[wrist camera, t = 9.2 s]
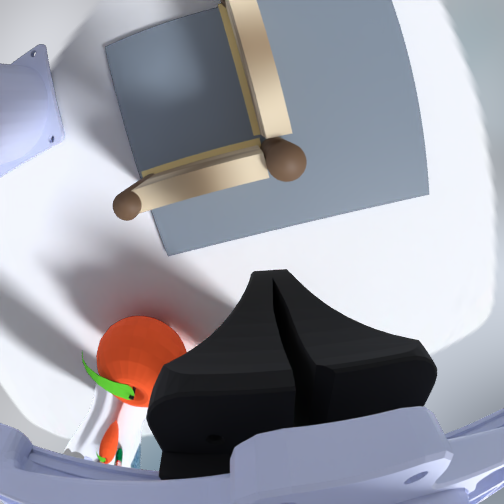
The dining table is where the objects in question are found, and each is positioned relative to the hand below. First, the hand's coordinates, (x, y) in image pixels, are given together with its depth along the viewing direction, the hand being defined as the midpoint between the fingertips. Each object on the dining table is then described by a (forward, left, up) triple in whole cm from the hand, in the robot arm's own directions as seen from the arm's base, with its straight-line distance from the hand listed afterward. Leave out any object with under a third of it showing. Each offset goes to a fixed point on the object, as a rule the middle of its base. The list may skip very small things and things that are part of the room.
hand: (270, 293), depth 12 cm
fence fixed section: (-2, +4, -9) cm, 10 cm away
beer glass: (-17, -14, -10) cm, 24 cm away
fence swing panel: (+2, +10, -9) cm, 13 cm away
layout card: (+3, +7, -9) cm, 12 cm away
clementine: (-11, -7, -10) cm, 16 cm away
